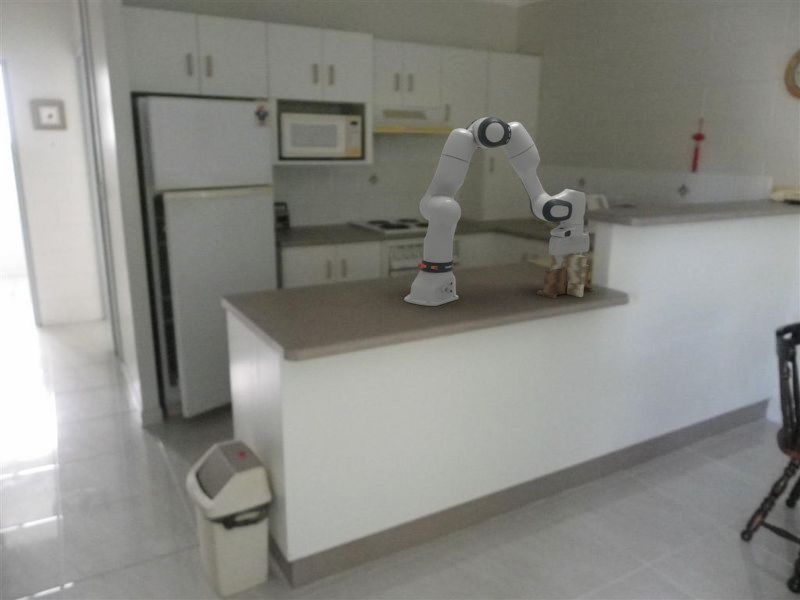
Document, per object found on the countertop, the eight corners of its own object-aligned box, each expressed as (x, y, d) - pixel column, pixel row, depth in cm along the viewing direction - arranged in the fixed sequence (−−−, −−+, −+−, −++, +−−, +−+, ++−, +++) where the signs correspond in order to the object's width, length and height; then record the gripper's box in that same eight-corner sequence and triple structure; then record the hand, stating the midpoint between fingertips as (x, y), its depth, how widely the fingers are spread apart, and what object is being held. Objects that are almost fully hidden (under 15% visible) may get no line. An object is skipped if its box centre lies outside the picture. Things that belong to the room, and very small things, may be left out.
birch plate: (548, 288, 247) (551, 250, 242) (551, 287, 248) (555, 249, 244) (579, 297, 234) (583, 257, 230) (582, 296, 235) (587, 256, 231)
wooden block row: (552, 298, 231) (554, 273, 229) (537, 294, 238) (539, 269, 235) (592, 290, 244) (595, 266, 242) (577, 286, 251) (579, 263, 248)
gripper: (582, 227, 242) (579, 260, 246) (547, 231, 231) (544, 265, 235) (595, 229, 237) (591, 263, 241) (560, 233, 226) (556, 268, 230)
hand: (568, 264), depth 238 cm, fingers open, 8 cm apart
